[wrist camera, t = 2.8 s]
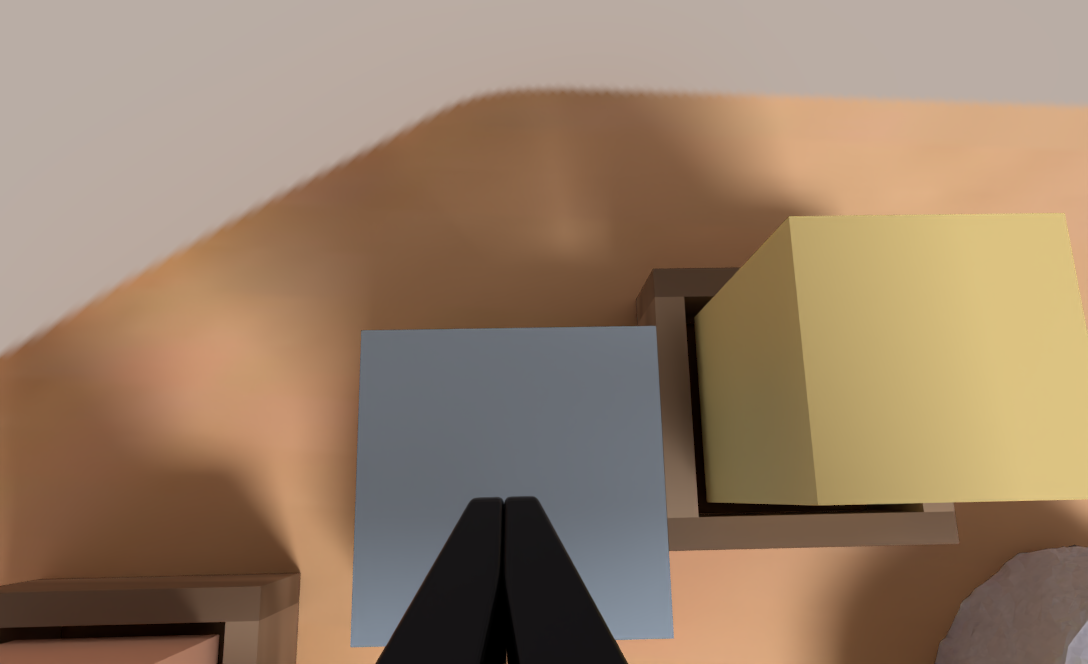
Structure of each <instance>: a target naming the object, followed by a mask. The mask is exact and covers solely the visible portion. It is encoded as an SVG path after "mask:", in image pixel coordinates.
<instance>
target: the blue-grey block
mask: <svg viewBox="0 0 1088 664" xmlns="http://www.w3.org/2000/svg"><path fill="white" fill-rule="evenodd" d="M511 496H534V497H536V498H537V499H538V500H539V501H540V503H541V505H542V507H543V509H544V510H545V512H546V514H547V516H548V518H549V520H550V521H551V523H552V525H553V527H554V529H555V531H556V532H557V534H558V536H559V538H560V540H561V542H562V543H563V545H564V547H565V549H566V551H567V553H568V554H569V556H570V558H571V560H572V562H573V564H574V565H575V567H576V569H577V571H578V573H579V575H580V576H581V578H582V580H583V582H584V584H585V586H586V587H587V589H588V591H589V593H590V595H591V597H592V598H593V600H594V602H595V604H596V606H597V608H598V609H599V611H600V613H601V615H602V617H603V619H604V620H605V622H606V624H607V626H608V628H609V630H610V631H611V633H612V635H613V637H614V639H615V640H632V639H669V638H674V634H673V616H672V599H671V581H670V563H669V546H668V528H667V511H666V493H665V475H664V458H663V440H662V423H661V405H660V387H659V370H658V352H657V335H656V326H612V327H548V328H484V329H421V330H361V356H360V385H359V414H358V443H357V472H356V502H355V531H354V560H353V589H352V618H351V647H378V646H386V645H387V643H388V641H389V639H390V638H391V636H392V634H393V633H394V631H395V629H396V627H397V626H398V624H399V622H400V620H401V619H402V617H403V615H404V613H405V612H406V610H407V608H408V607H409V605H410V603H411V601H412V600H413V598H414V596H415V594H416V593H417V591H418V589H419V588H420V586H421V584H422V582H423V581H424V579H425V577H426V575H427V574H428V572H429V570H430V569H431V567H432V565H433V563H434V562H435V560H436V558H437V556H438V555H439V553H440V551H441V550H442V548H443V546H444V544H445V543H446V541H447V539H448V537H449V536H450V534H451V532H452V530H453V529H454V527H455V525H456V524H457V522H458V520H459V518H460V517H461V515H462V513H463V511H464V510H465V508H466V506H467V505H468V503H469V502H470V500H472V499H473V498H478V497H500V498H502V499H503V501H504V502H505V499H506V498H507V497H511Z"/></svg>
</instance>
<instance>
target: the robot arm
mask: <svg viewBox="0 0 1088 664" xmlns="http://www.w3.org/2000/svg"><path fill="white" fill-rule="evenodd" d="M507 663H508V664H628V663H627V661H626V659H625V657H624V655H623V653H622V652H621V650H620V648H619V646H618V644H617V642H616V641H615V639H614V637H613V635H612V633H611V631H610V630H609V628H608V626H607V624H606V622H605V620H604V619H603V617H602V615H601V613H600V611H599V609H598V608H597V606H596V604H595V602H594V600H593V598H592V597H591V595H590V593H589V591H588V589H587V587H586V586H585V584H584V582H583V580H582V578H581V576H580V575H579V573H578V571H577V569H576V567H575V565H574V564H573V562H572V560H571V558H570V556H569V554H568V553H567V551H566V549H565V547H564V545H563V543H562V542H561V540H560V538H559V536H558V534H557V532H556V531H555V529H554V527H553V525H552V523H551V521H550V520H549V518H548V516H547V514H546V512H545V510H544V509H543V507H542V505H541V503H540V501H539V500H538V499H537V498H536V497H534V496H511V497H507V498H506V499H505V502H504V501H503V499H502V498H500V497H478V498H473V499H472V500H470V502H469V503H468V505H467V506H466V508H465V510H464V511H463V513H462V515H461V517H460V518H459V520H458V522H457V524H456V525H455V527H454V529H453V530H452V532H451V534H450V536H449V537H448V539H447V541H446V543H445V544H444V546H443V548H442V550H441V551H440V553H439V555H438V556H437V558H436V560H435V562H434V563H433V565H432V567H431V569H430V570H429V572H428V574H427V575H426V577H425V579H424V581H423V582H422V584H421V586H420V588H419V589H418V591H417V593H416V594H415V596H414V598H413V600H412V601H411V603H410V605H409V607H408V608H407V610H406V612H405V613H404V615H403V617H402V619H401V620H400V622H399V624H398V626H397V627H396V629H395V631H394V633H393V634H392V636H391V638H390V639H389V641H388V643H387V645H386V646H385V648H384V650H383V652H382V653H381V655H380V657H379V658H378V660H377V662H376V664H507Z"/></svg>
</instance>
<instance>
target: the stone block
mask: <svg viewBox="0 0 1088 664" xmlns="http://www.w3.org/2000/svg"><path fill="white" fill-rule="evenodd" d="M935 664H1088V547H1081V546H1076V545H1073V546H1069V547H1064V546H1063V547H1061V548H1053V549H1044V550H1039V551H1034V552H1031V553H1018V554H1017V555H1016V556H1015V557H1013V558H1012V559H1010V560H1009V561H1007V562H1006V563H1005V564H1004V565H1003V566H1002V568H1001V569H1000V570H999V571H998V572H997V573H996V574H994V575H993V576H992V577H991V578H990V579H988V580H987V581H986V582H984V583H983V584H982V585H980V586H978V587H977V588H975V589H974V590H973V592H972V593H971V595H969V596H968V597H967V598H966V599H965V600H963V601H962V603H961V605H960V609H959V611H958V613H957V615H956V616H955V619H954V621H953V623H952V626H951V628H950V630H949V631H948V633H947V635H946V638H944V639H943V640H942V641H941V642H940V644H939V648H938V653H937V657H936V661H935Z"/></svg>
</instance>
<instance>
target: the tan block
mask: <svg viewBox="0 0 1088 664" xmlns="http://www.w3.org/2000/svg"><path fill="white" fill-rule="evenodd" d="M218 647H219V635H182V636H145V637H108V638H71V639H34V640H13V641H10V642H6V643H2V644H0V664H217V661H218Z"/></svg>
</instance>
